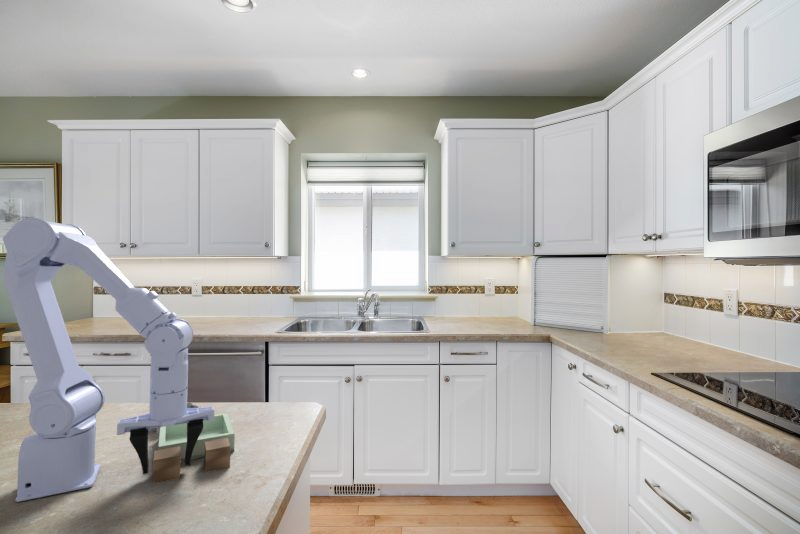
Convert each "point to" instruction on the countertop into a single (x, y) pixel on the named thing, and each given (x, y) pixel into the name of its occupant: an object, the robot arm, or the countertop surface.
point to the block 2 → (217, 455)
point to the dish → (210, 432)
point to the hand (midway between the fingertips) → (167, 467)
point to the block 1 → (166, 464)
